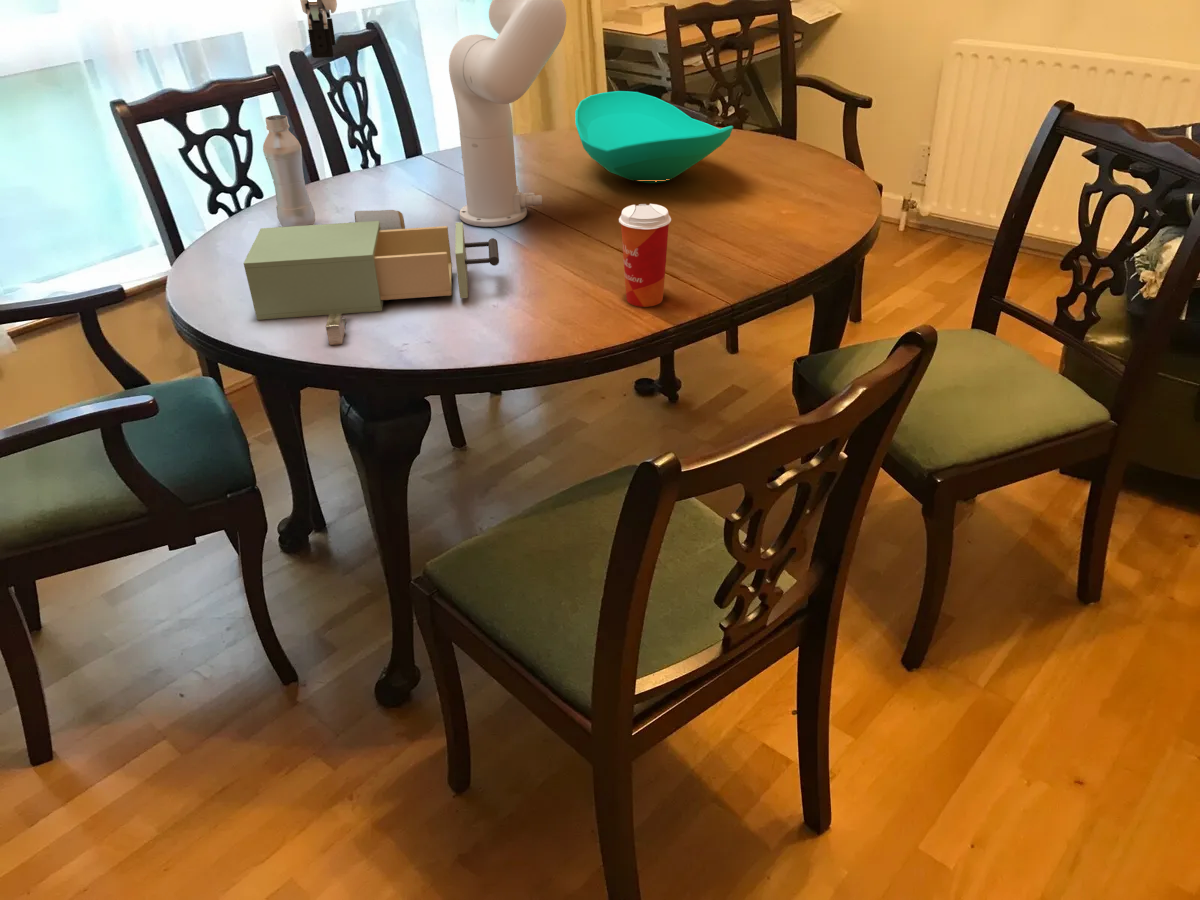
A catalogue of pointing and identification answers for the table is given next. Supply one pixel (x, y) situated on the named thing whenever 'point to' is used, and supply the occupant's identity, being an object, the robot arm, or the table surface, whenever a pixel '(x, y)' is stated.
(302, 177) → the plastic bottle
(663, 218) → the paper cup
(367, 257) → the cabinet
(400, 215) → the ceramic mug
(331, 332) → the wooden block
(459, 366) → the table surface
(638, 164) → the table top decor
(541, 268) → the table surface
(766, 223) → the table surface
